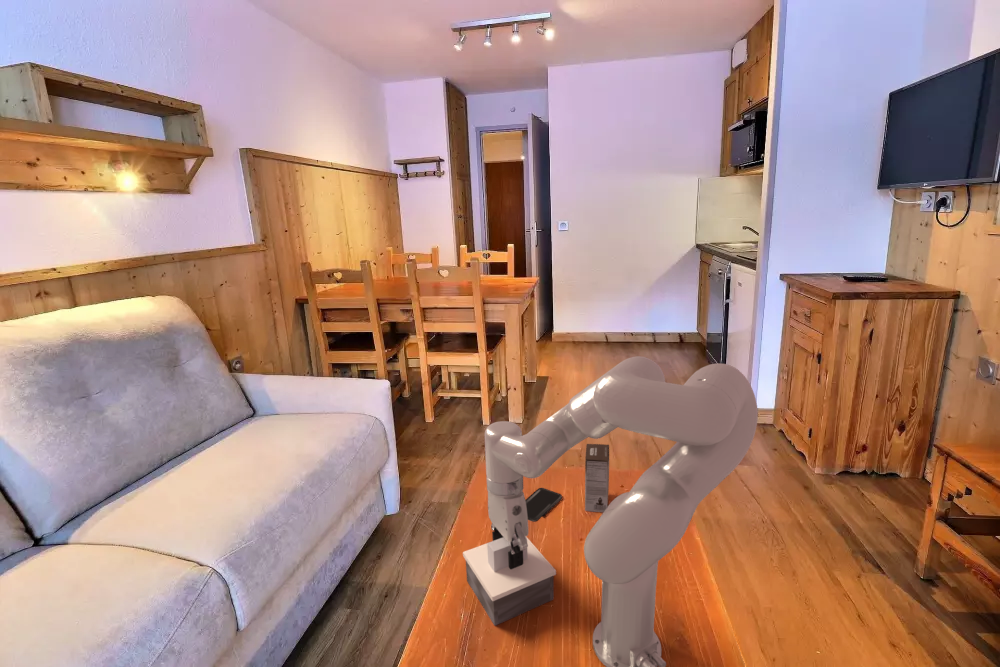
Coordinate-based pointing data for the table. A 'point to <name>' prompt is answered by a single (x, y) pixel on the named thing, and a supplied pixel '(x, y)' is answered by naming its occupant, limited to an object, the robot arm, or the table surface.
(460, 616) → the table surface
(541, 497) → the phone
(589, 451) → the coffee box
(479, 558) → the lid
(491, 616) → the box
